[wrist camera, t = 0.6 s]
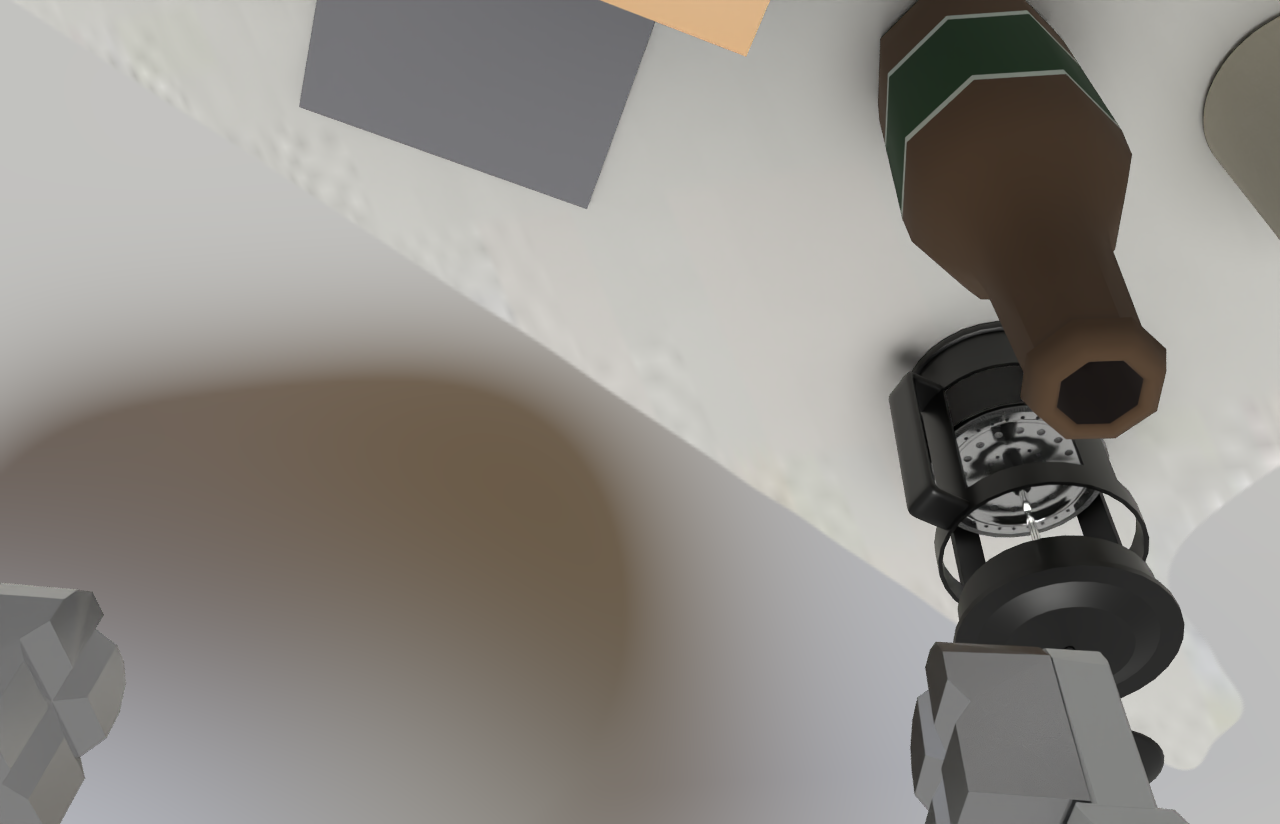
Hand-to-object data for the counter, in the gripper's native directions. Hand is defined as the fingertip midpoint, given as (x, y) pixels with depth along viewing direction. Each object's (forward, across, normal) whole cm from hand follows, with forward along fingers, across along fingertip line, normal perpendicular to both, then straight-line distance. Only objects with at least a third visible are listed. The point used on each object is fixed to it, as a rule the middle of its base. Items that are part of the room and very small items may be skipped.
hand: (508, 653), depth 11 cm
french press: (+41, -17, +26) cm, 51 cm away
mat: (+41, +9, +9) cm, 43 cm away
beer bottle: (+41, -12, +9) cm, 44 cm away
